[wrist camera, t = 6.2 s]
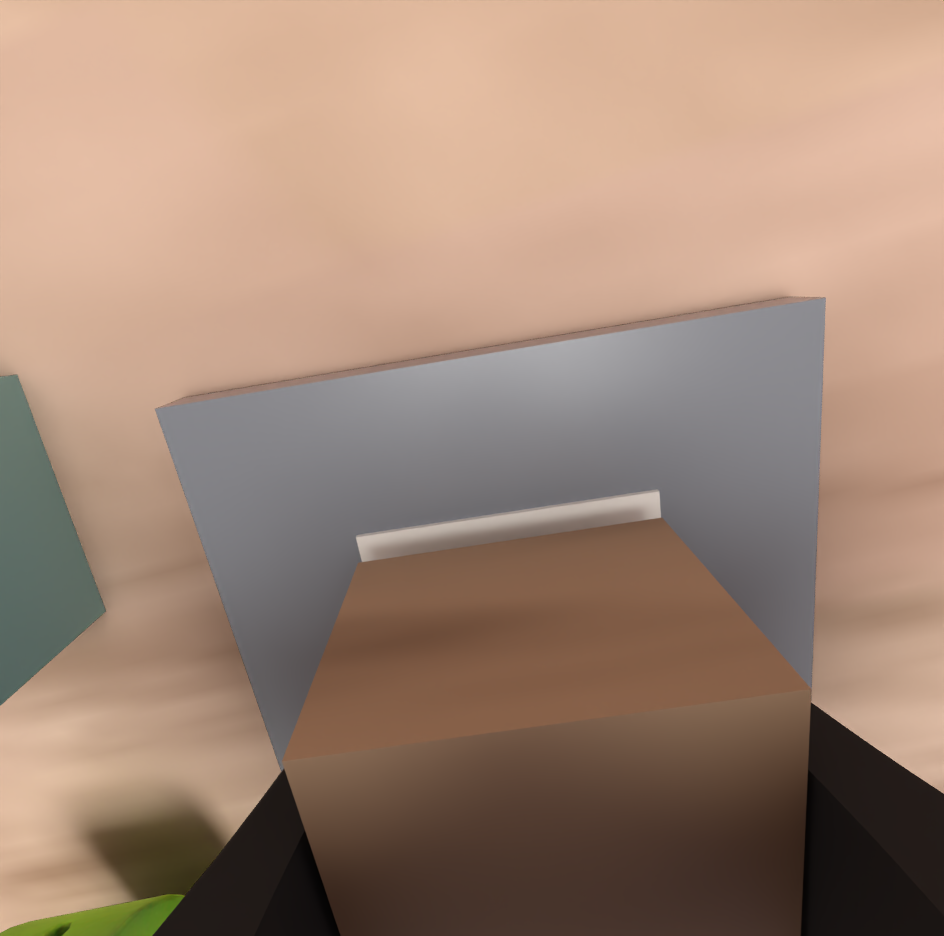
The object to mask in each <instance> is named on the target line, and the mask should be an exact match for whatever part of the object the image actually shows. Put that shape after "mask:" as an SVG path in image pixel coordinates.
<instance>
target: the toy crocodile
mask: <svg viewBox="0 0 944 936" xmlns="http://www.w3.org/2000/svg"><path fill="white" fill-rule="evenodd" d="M184 897H185V896H184V895H178V894H167V895H162V896H157V897H152V898H147V899H142V900H137V901H132V902H127V903H122V904H117V905H112V906H107V907H102V908H97V909H92V910H86V911H81V912H76V913H71V914H66V915H61V916H56V917H50V918H45V919H40V920H35V921H30V922H27V923H24V924H20V925H17V926H14V927H11V928H9V929H7V930H5V931H3V932H1V933H0V936H152V935H153V934H154V933H155V932H156V931H157V929H158V928H159V927H160V926H161V924H162V923H163V922H164V921H165V920H166V918H167V917H168V916H169V915H170V914H171V912H172V911H173V910H174V909H175V907H176V906H177V905H178V904H179V903H180V901H181V900H182V899H183V898H184Z"/></svg>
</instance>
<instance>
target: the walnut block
mask: <svg viewBox="0 0 944 936" xmlns="http://www.w3.org/2000/svg"><path fill="white" fill-rule="evenodd" d="M810 709H811V688H810V687H809V686H808V685H807V683H806V682H805V681H804V680H803V679H802V678H801V676H800V675H799V674H798V673H797V672H796V671H795V670H794V668H793V667H792V666H791V665H790V664H789V663H788V662H787V660H786V659H785V658H784V657H783V656H782V655H781V653H780V652H779V651H778V650H777V649H776V648H775V647H774V645H773V644H772V643H771V642H770V641H769V640H768V639H767V637H766V636H765V635H764V634H763V633H762V632H761V630H760V629H759V628H758V627H757V626H756V625H755V624H754V622H753V621H752V620H751V619H750V618H749V617H748V616H747V614H746V613H745V612H744V611H743V610H742V609H741V608H740V606H739V605H738V604H737V603H736V602H735V601H734V599H733V598H732V597H731V596H730V595H729V594H728V593H727V591H726V590H725V589H724V588H723V587H722V586H721V585H720V583H719V582H718V581H717V580H716V579H715V578H714V576H713V575H712V574H711V573H710V572H709V571H708V570H707V568H706V567H705V566H704V565H703V564H702V563H701V562H700V560H699V559H698V558H697V557H696V556H695V555H694V553H693V552H692V551H691V550H690V549H689V548H688V547H687V545H686V544H685V543H684V542H683V541H682V540H681V539H680V537H679V536H678V535H677V534H676V533H675V532H674V530H673V529H672V528H671V527H670V526H669V525H668V524H667V522H666V521H665V520H664V519H663V518H656V519H649V520H642V521H636V522H629V523H622V524H615V525H609V526H602V527H595V528H588V529H582V530H575V531H568V532H561V533H555V534H548V535H541V536H535V537H528V538H521V539H514V540H508V541H501V542H494V543H487V544H481V545H474V546H467V547H461V548H454V549H447V550H440V551H434V552H427V553H420V554H413V555H407V556H400V557H393V558H387V559H380V560H373V561H366V562H360V563H358V565H357V567H356V570H355V572H354V575H353V578H352V580H351V583H350V585H349V588H348V591H347V593H346V596H345V598H344V601H343V604H342V606H341V609H340V611H339V614H338V617H337V619H336V622H335V624H334V627H333V630H332V632H331V635H330V637H329V640H328V643H327V645H326V648H325V650H324V653H323V656H322V658H321V661H320V663H319V666H318V669H317V671H316V674H315V676H314V679H313V682H312V684H311V687H310V689H309V692H308V695H307V697H306V700H305V702H304V705H303V708H302V710H301V713H300V715H299V718H298V721H297V723H296V726H295V728H294V731H293V734H292V736H291V739H290V741H289V744H288V747H287V749H286V752H285V754H284V757H283V760H282V763H283V766H284V769H285V772H286V775H287V778H288V781H289V784H290V787H291V790H292V793H293V796H294V799H295V802H296V805H297V808H298V811H299V814H300V817H301V820H302V823H303V826H304V829H305V832H306V835H307V838H308V841H309V843H310V846H311V849H312V852H313V855H314V858H315V861H316V864H317V867H318V870H319V873H320V876H321V879H322V882H323V885H324V888H325V891H326V894H327V897H328V900H329V903H330V906H331V909H332V912H333V915H334V918H335V921H336V924H337V927H338V929H339V932H340V935H341V936H801V917H802V894H803V871H804V848H805V825H806V802H807V779H808V756H809V733H810Z"/></svg>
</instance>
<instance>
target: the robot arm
mask: <svg viewBox="0 0 944 936" xmlns="http://www.w3.org/2000/svg"><path fill="white" fill-rule="evenodd" d="M152 936H341V935H340V932H339V929H338V927H337V924H336V921H335V918H334V915H333V912H332V909H331V906H330V903H329V900H328V897H327V894H326V891H325V888H324V885H323V882H322V879H321V876H320V873H319V870H318V867H317V864H316V861H315V858H314V855H313V852H312V849H311V846H310V843H309V841H308V838H307V835H306V832H305V829H304V826H303V823H302V820H301V817H300V814H299V811H298V808H297V805H296V802H295V799H294V796H293V793H292V790H291V787H290V784H289V781H288V778H287V775H286V772H285V769H283V771H282V772H281V773H280V775H279V776H278V777H277V779H276V780H275V781H274V783H273V784H272V785H271V787H270V788H269V789H268V791H267V792H266V793H265V795H264V796H263V798H262V799H261V800H260V801H259V803H258V804H257V805H256V807H255V808H254V809H253V811H252V812H251V813H250V815H249V816H248V817H247V818H246V820H245V821H244V822H243V824H242V825H241V826H240V828H239V829H238V830H237V832H236V833H235V834H234V835H233V837H232V838H231V839H230V841H229V842H228V843H227V845H226V846H225V847H224V848H223V850H222V851H221V852H220V854H219V855H218V856H217V857H216V859H215V860H214V861H213V862H212V864H211V865H210V866H209V867H208V869H207V870H206V871H205V872H204V873H203V875H202V876H201V877H200V878H199V880H198V881H197V882H196V883H195V884H194V886H193V887H192V888H191V889H190V890H189V892H188V893H187V894H186V895H185V897H184V898H183V899H182V900H181V901H180V903H179V904H178V905H177V906H176V907H175V909H174V910H173V911H172V912H171V914H170V915H169V916H168V917H167V918H166V920H165V921H164V922H163V923H162V924H161V926H160V927H159V928H158V929H157V931H156V932H155V933H154V934H153V935H152ZM801 936H944V794H943V793H942V792H940V791H939V790H937V789H935V788H934V787H932V786H931V785H929V784H928V783H926V782H925V781H923V780H922V779H920V778H919V777H917V776H916V775H914V774H913V773H911V772H910V771H908V770H907V769H905V768H904V767H902V766H901V765H899V764H898V763H896V762H895V761H893V760H892V759H891V758H889V757H888V756H886V755H885V754H883V753H882V752H880V751H879V750H877V749H876V748H875V747H873V746H872V745H870V744H869V743H867V742H866V741H864V740H863V739H862V738H860V737H859V736H857V735H856V734H854V733H853V732H852V731H850V730H849V729H847V728H846V727H845V726H843V725H842V724H840V723H839V722H837V721H836V720H835V719H833V718H832V717H830V716H829V715H828V714H826V713H825V712H824V711H822V710H821V709H819V708H818V707H817V706H815V705H814V704H812V703H811V709H810V733H809V756H808V779H807V802H806V825H805V848H804V871H803V894H802V917H801Z"/></svg>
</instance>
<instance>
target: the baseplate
mask: <svg viewBox="0 0 944 936" xmlns="http://www.w3.org/2000/svg"><path fill="white" fill-rule="evenodd" d="M825 302H826V298H819V297H786V298H780V299H774V300H768V301H762V302H756V303H750V304H744V305H738V306H732V307H726V308H719V309H713V310H707V311H701V312H695V313H689V314H683V315H677V316H671V317H665V318H659V319H653V320H647V321H641V322H635V323H629V324H623V325H617V326H611V327H605V328H599V329H593V330H587V331H581V332H575V333H569V334H563V335H557V336H551V337H545V338H539V339H533V340H527V341H521V342H515V343H509V344H503V345H497V346H491V347H485V348H479V349H473V350H467V351H461V352H455V353H449V354H443V355H437V356H431V357H425V358H419V359H413V360H407V361H401V362H395V363H389V364H383V365H377V366H371V367H365V368H359V369H353V370H347V371H341V372H335V373H329V374H323V375H317V376H311V377H305V378H299V379H293V380H287V381H281V382H275V383H269V384H263V385H257V386H251V387H245V388H238V389H232V390H226V391H220V392H214V393H208V394H202V395H196V396H190V397H184V398H182V399H179V400H177V401H174V402H171V403H169V404H166V405H164V406H161V407H158V408H156V409H155V411H156V413H157V416H158V419H159V422H160V425H161V428H162V431H163V433H164V436H165V439H166V442H167V445H168V448H169V451H170V454H171V456H172V459H173V462H174V465H175V468H176V471H177V474H178V476H179V479H180V482H181V485H182V488H183V491H184V494H185V497H186V499H187V502H188V505H189V508H190V511H191V514H192V517H193V519H194V522H195V525H196V528H197V531H198V534H199V537H200V540H201V542H202V545H203V548H204V551H205V554H206V557H207V560H208V562H209V565H210V568H211V571H212V574H213V577H214V580H215V583H216V585H217V588H218V591H219V594H220V597H221V600H222V603H223V605H224V608H225V611H226V614H227V617H228V620H229V623H230V626H231V628H232V631H233V634H234V637H235V640H236V643H237V646H238V648H239V651H240V654H241V657H242V660H243V663H244V666H245V669H246V671H247V674H248V677H249V680H250V683H251V686H252V689H253V692H254V694H255V697H256V700H257V703H258V706H259V709H260V712H261V714H262V717H263V720H264V723H265V726H266V729H267V732H268V735H269V737H270V740H271V743H272V746H273V749H274V752H275V755H276V757H277V760H278V763H279V766H280V769H281V772H282V771H283V769H284V766H283V763H282V760H283V757H284V754H285V752H286V749H287V747H288V744H289V741H290V739H291V736H292V734H293V731H294V728H295V726H296V723H297V721H298V718H299V715H300V713H301V710H302V708H303V705H304V702H305V700H306V697H307V695H308V692H309V689H310V687H311V684H312V682H313V679H314V676H315V674H316V671H317V669H318V666H319V663H320V661H321V658H322V656H323V653H324V650H325V648H326V645H327V643H328V640H329V637H330V635H331V632H332V630H333V627H334V624H335V622H336V619H337V617H338V614H339V611H340V609H341V606H342V604H343V601H344V598H345V596H346V593H347V591H348V588H349V585H350V583H351V580H352V578H353V575H354V572H355V570H356V567H357V565H358V563H360V562H366V561H373V560H380V559H387V558H393V557H400V556H407V555H413V554H420V553H427V552H434V551H440V550H447V549H454V548H461V547H467V546H474V545H481V544H487V543H494V542H501V541H508V540H514V539H521V538H528V537H535V536H541V535H548V534H555V533H561V532H568V531H575V530H582V529H588V528H595V527H602V526H609V525H615V524H622V523H629V522H636V521H642V520H649V519H656V518H663V519H664V520H665V521H666V522H667V524H668V525H669V526H670V527H671V528H672V529H673V530H674V532H675V533H676V534H677V535H678V536H679V537H680V539H681V540H682V541H683V542H684V543H685V544H686V545H687V547H688V548H689V549H690V550H691V551H692V552H693V553H694V555H695V556H696V557H697V558H698V559H699V560H700V562H701V563H702V564H703V565H704V566H705V567H706V568H707V570H708V571H709V572H710V573H711V574H712V575H713V576H714V578H715V579H716V580H717V581H718V582H719V583H720V585H721V586H722V587H723V588H724V589H725V590H726V591H727V593H728V594H729V595H730V596H731V597H732V598H733V599H734V601H735V602H736V603H737V604H738V605H739V606H740V608H741V609H742V610H743V611H744V612H745V613H746V614H747V616H748V617H749V618H750V619H751V620H752V621H753V622H754V624H755V625H756V626H757V627H758V628H759V629H760V630H761V632H762V633H763V634H764V635H765V636H766V637H767V639H768V640H769V641H770V642H771V643H772V644H773V645H774V647H775V648H776V649H777V650H778V651H779V652H780V653H781V655H782V656H783V657H784V658H785V659H786V660H787V662H788V663H789V664H790V665H791V666H792V667H793V668H794V670H795V671H796V672H797V673H798V674H799V675H800V676H801V678H802V679H803V680H804V681H805V682H806V683H807V685H808V686H809V687H810V688H811V691H812V663H813V635H814V608H815V580H816V552H817V524H818V497H819V469H820V441H821V413H822V386H823V358H824V330H825Z"/></svg>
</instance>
